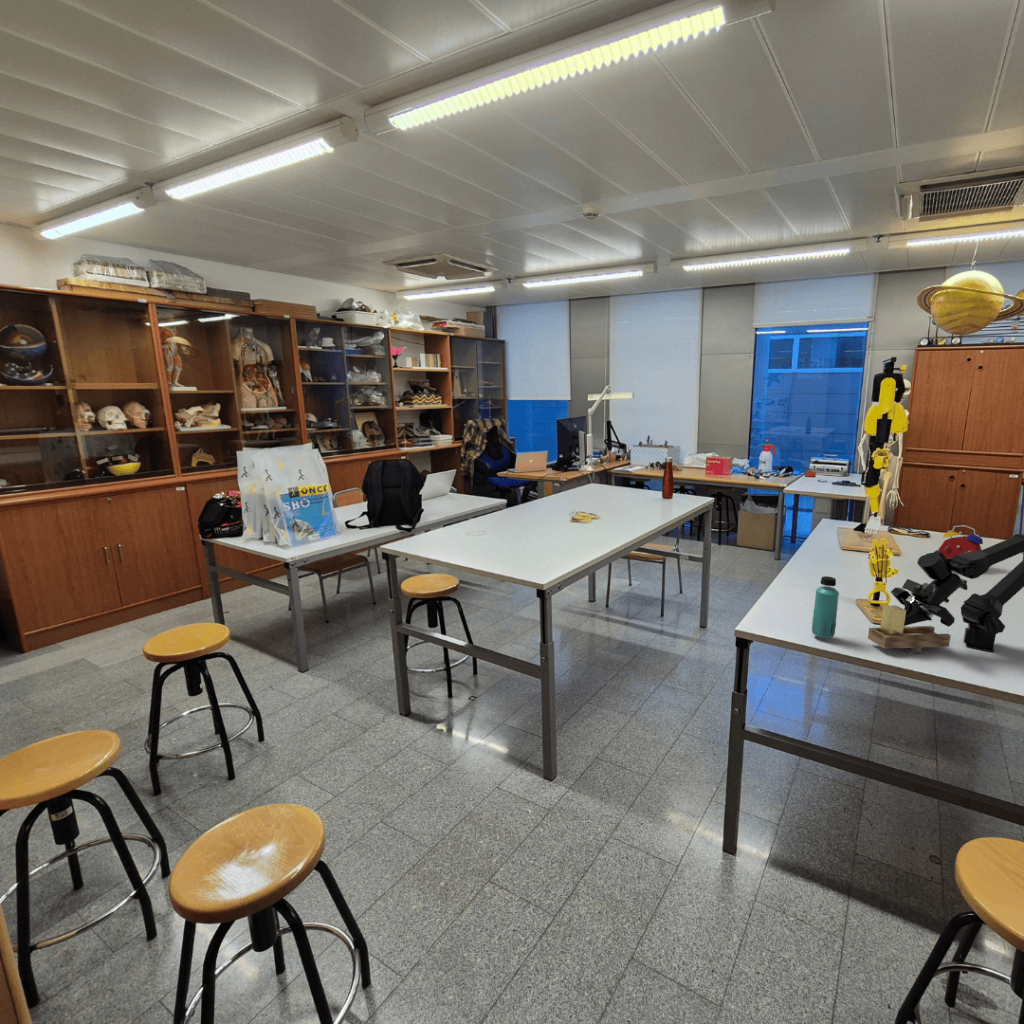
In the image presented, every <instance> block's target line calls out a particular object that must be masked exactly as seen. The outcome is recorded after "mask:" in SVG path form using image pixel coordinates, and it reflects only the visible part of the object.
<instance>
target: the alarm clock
mask: <svg viewBox="0 0 1024 1024" xmlns="http://www.w3.org/2000/svg"><path fill="white" fill-rule="evenodd" d="M959 527H965V528H968V529H971V530H973V534H969V535H968V534H967V536H966V535H962V534H963V532H962V531H959V532H957V531H955V528H959ZM959 535H961V536H959ZM942 538H943V539H945V538H948V539H945V540H944V541H943V543H942V544H940V546H939V548H938V550H937V551H940V552H942V553H943V554H944V556H945V557H946V559H948V558H952V557H953V556H955V555H958V554H962V553H967V552H978V551H981V550H983V549H982V546H981V545H983V544H984V543H983V538H981V537H980V534H976V529H975V528H973V527H970V526H968V525H964V524H963V525H953V528H952V529H951V530H950V529H949V530H948V531H947V532H945V533H943V535H942Z"/></svg>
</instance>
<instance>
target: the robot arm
mask: <svg viewBox="0 0 1024 1024" xmlns="http://www.w3.org/2000/svg"><path fill="white" fill-rule="evenodd" d="M1022 553H1023V555H1022V560H1021V561H1020V562H1019V563H1018V564H1017V565H1016V566H1014V568H1013V569H1011V570H1010V571H1009V572H1008V573H1006V575H1005V576H1004V577H1003V578H1002V579H1001V580H1000V581H998V582H997V583H996V584H995V585H994V586H993V587H991V588H990V589H989V590H988V591H987V592H986V593H984V594H978V593H972V594H971V595H970V597H968V598H967V599H966V600H964V601H963V604H962V605H961V606H960V613H961V614H960V615H961V617H962V622H963V623H966V624H968V625H967V627H965V628H964V632H963V633H964V634H963V639H962V640H963V643H965V646H966V648H970V649H975V650H980V651H987V652H989V653H990V652H991V653H995V641H996V636H997V634H999V633H1000V634H1001V633H1003V632H1004V630H1005V628H1006V625H1005V624H1004V622H1002V620H1001V619H1000V618H1001V617H1002V613H1003V606H1004V605H1005V604H1007V602H1009V601H1010V600H1011V599H1012V598H1013V597H1014V596H1015V595H1016V594H1018V593H1019V592H1020V591H1021V590H1022V589H1023V588H1024V533H1015V534H1014V535H1013V536H1012V537H1009V538H1007V539H1005V540H1002V541H1000V542H998V543H995V544H993V545H991V546H988V547H987V548H984V549H982V550H981V551H978V552H967V553H962V554H958V555H955V556H953V557H952V558H948V559H946V557H945V556H944V554H943V553H942V552H940V551H938V550H935V551H933V552H929V553H926V554H923V555H921V556H920V557H918V559H917V565H918V566H919V568H920V569H921V570H922V571H923V572H924V573H925V575H926V576H927V577H928V578H930V579H931V580H932V581H931V582H929V583H928V582H923V583H922V584H921V583H919V582H916V581H914V580H912V579H909V578H907V579H906V580H905V581H904V583H903V585H902V587H894V588H893V589H892V590H890V594H891V595H893V597H894V598H895V599H896V600H897V601H898V602H899V603H900V604H901V605H903V606H904V608H903V609H904V610H906V615H905V622H904V627H907V626H909V625H914V624H916V623H922V622H927V621H930V622H931V621H932V620H933V619H932V618H933V617H934V616H936V617H938V618H940V624H942V625H945V626H946V627H951V626H952V625H953V624H955V621H956V620H955V619H956V618H955V617H954V615H953V614H952V613H951V612H950V611H949V609H947V608H946V607H945V606H942V604H943V602H944V603H945V604H948V603H949V602H950V599H949V597H950V596H952V595H953V594H954V593H955V592H956V591H957V590H958V589H961V590H963V591H968V580H966V579H963V578H961V577H960V576H963V577H964V578H968V579H970V580H974V579H978V578H979V577H981V576H984V574H986V573H987V572H988V571H989V569H990V567H992V566H993V565H996V564H999V563H1001V562H1003V561H1005V560H1008V559H1010V558H1012V557H1014V556H1017V555H1019V554H1022Z"/></svg>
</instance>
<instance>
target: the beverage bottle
mask: <svg viewBox="0 0 1024 1024" xmlns="http://www.w3.org/2000/svg"><path fill="white" fill-rule="evenodd" d="M836 580H837V579H836V578H835V577H832V576H826V575H825V576H821V579H820V584H821V586H819V587H817V588H816V589H815V600H814V606H813V613H812V623H811V624H812V625H811V632H812V634H813V635H815V636H817V637H819V638H824V639H832V638H833V637H834V636H835V635H836V634H835V633H836V628H837V626H836V625H837V619H838V617H837V616H838V614H837V613H838V606H839V605H838V603H839V596H840V595H839V594H840V593H839V591H838V590H837V589H836V588H835V587H836V586H837V581H836Z"/></svg>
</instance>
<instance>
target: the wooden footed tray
mask: <svg viewBox="0 0 1024 1024" xmlns="http://www.w3.org/2000/svg"><path fill="white" fill-rule="evenodd" d="M935 628H936V627H934V626H933V625H921V626H919V625H918V626H917V625H916V626H904V629H903V635H889V636H886V635H884V634H882V633H881V632H880V626H879V627H869V628H868V633H867V639H868V640H870V641H871V642H873V643H874V644H876V645H878V646H879V647H881V648H883V649H884V650H885V649H901V650H903V651H905V652H907V653H908V654H910V655H916V654H917V655H919V654H922V648H941V647H950V642H951V634H949V633H937V632H935Z"/></svg>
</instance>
